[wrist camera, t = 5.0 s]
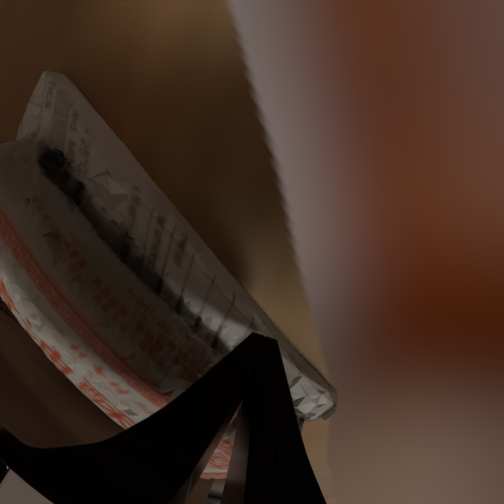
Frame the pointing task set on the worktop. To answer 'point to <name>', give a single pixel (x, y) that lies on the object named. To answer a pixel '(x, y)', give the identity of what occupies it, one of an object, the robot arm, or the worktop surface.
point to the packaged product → (120, 272)
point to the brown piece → (51, 401)
